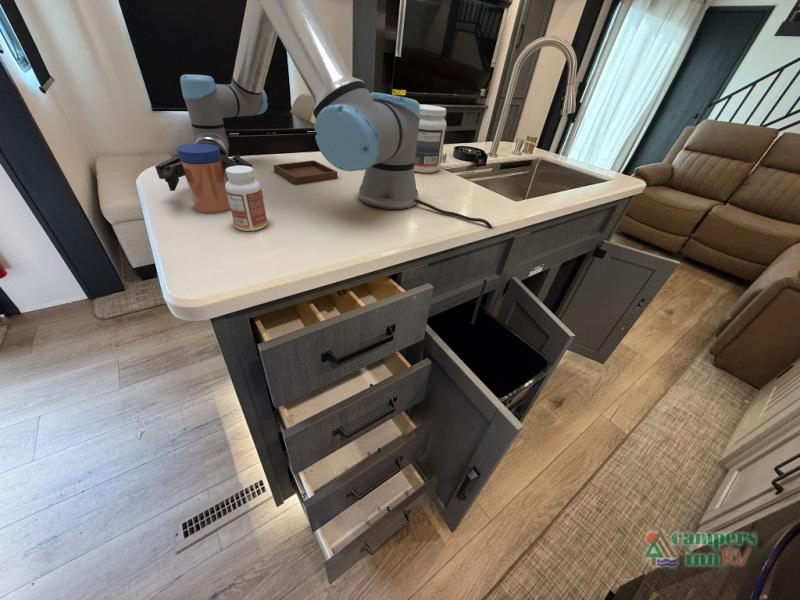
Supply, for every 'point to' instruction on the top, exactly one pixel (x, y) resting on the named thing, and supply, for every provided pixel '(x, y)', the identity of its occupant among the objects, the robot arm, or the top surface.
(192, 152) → the jar lid
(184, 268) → the top surface
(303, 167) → the tray
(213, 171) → the jar
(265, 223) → the pill bottle
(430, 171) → the supplement tub
